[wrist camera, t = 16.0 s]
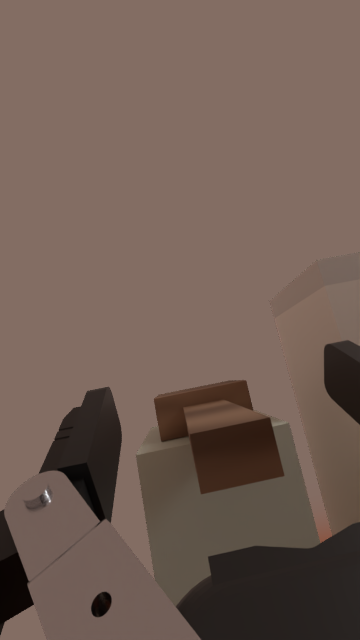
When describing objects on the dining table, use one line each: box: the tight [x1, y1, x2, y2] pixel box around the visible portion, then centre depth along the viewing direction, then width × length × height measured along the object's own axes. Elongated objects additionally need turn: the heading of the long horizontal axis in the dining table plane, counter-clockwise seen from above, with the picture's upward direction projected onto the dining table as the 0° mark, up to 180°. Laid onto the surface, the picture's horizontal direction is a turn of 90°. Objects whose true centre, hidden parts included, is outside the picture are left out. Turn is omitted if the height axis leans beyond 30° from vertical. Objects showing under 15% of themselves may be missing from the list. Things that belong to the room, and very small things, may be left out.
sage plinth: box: [136, 410, 320, 607], centre depth 22 cm, size 11×10×22 cm
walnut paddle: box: [154, 380, 285, 494], centre depth 19 cm, size 18×7×3 cm, turn 1°
